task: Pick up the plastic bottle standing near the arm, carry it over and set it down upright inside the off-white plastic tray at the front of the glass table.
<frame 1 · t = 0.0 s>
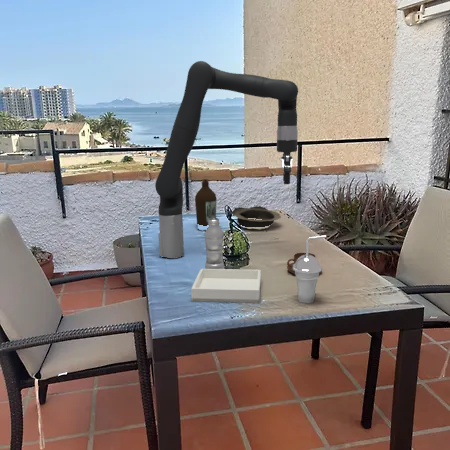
hand: (286, 182, 162), 29 cm above the table, tool pointing down, fingers open, 8 cm apart
stone bowl: (256, 227, 219), on the table
cup with straw: (307, 300, 127), on the table
plastic bottle: (214, 275, 150), on the table
olive oil: (206, 229, 216), on the table
tray: (228, 290, 135), on the table
cup and saucer: (304, 273, 151), on the table
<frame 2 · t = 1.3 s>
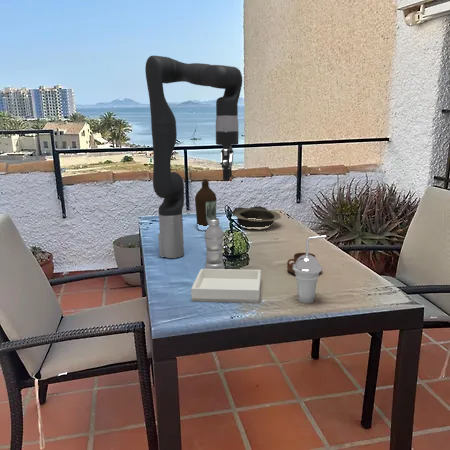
hand: (227, 179, 145), 33 cm above the table, tool pointing down, fingers open, 8 cm apart
nothing on the table moved.
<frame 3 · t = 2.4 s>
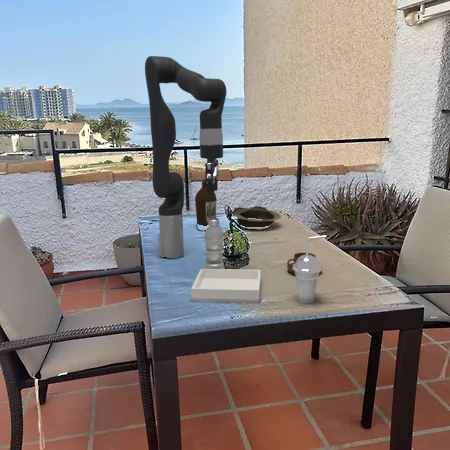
hand: (212, 192, 143), 29 cm above the table, tool pointing down, fingers open, 8 cm apart
nothing on the table moved.
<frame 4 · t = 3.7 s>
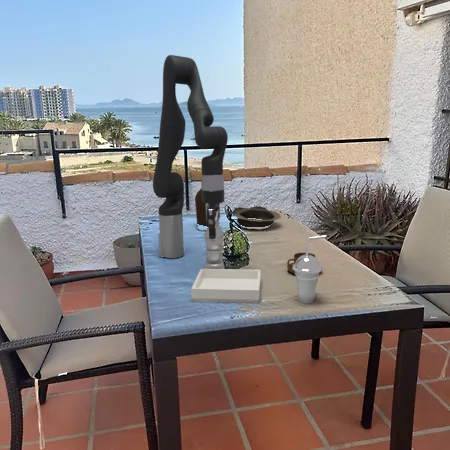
hand: (214, 235, 146), 14 cm above the table, tool pointing down, fingers open, 8 cm apart
nothing on the table moved.
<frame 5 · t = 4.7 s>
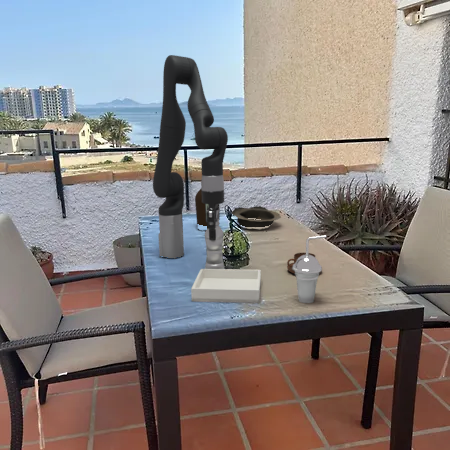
hand: (213, 237, 146), 14 cm above the table, tool pointing down, fingers closed on plastic bottle, 6 cm apart
plastic bottle: (214, 275, 150), on the table, touching gripper
everything else where it was.
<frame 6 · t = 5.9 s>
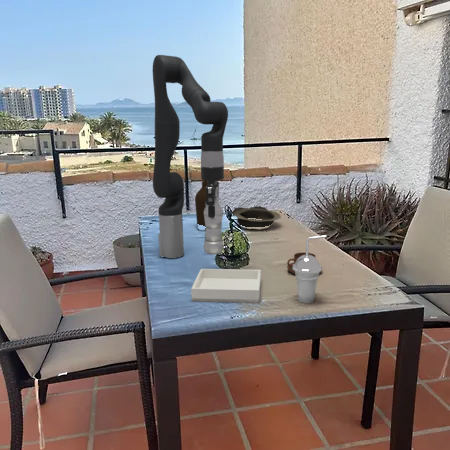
hand: (213, 214, 145), 21 cm above the table, tool pointing down, fingers closed on plastic bottle, 6 cm apart
plastic bottle: (213, 254, 148), point 8 cm above the table, touching gripper
everything else where it was.
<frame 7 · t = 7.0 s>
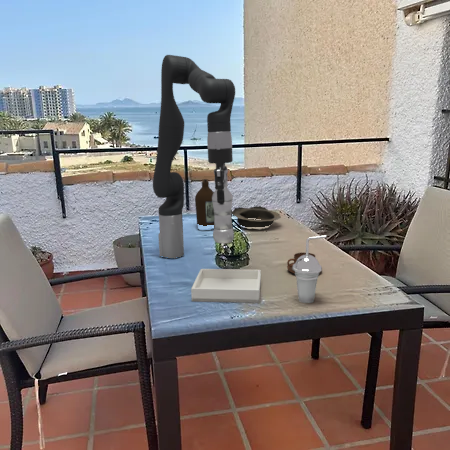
hand: (222, 200, 135), 28 cm above the table, tool pointing down, fingers closed on plastic bottle, 6 cm apart
plastic bottle: (223, 243, 138), point 14 cm above the table, touching gripper
everything else where it was.
when the fingers open (16 cm above the table, at t = 10.4 s): plastic bottle drops 1 cm, resting on tray.
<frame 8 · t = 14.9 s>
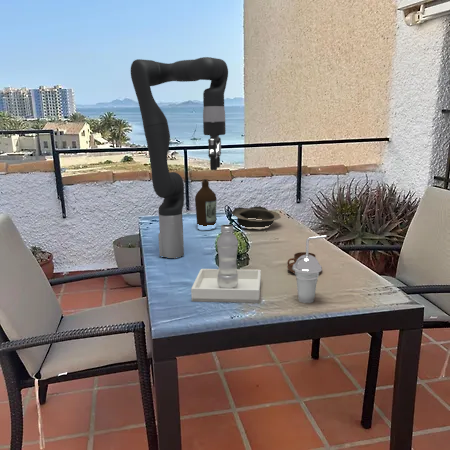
hand: (215, 168, 149), 36 cm above the table, tool pointing down, fingers open, 8 cm apart
plastic bottle: (228, 288, 135), point 1 cm above the table, touching tray
everything else where it was.
at the end: plastic bottle inside the target area on the tray (0.1 cm from its centre), point 0.8 cm above the tray's base; plastic bottle tilted 0°; the gripper is holding nothing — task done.
